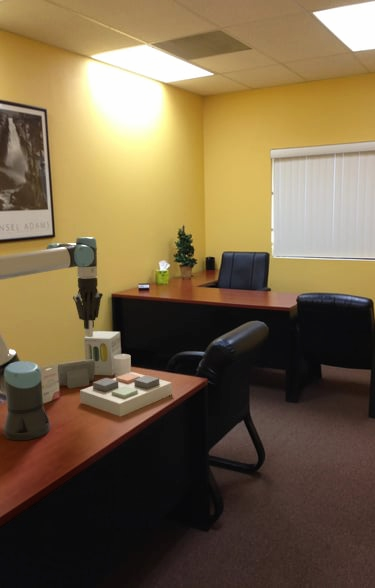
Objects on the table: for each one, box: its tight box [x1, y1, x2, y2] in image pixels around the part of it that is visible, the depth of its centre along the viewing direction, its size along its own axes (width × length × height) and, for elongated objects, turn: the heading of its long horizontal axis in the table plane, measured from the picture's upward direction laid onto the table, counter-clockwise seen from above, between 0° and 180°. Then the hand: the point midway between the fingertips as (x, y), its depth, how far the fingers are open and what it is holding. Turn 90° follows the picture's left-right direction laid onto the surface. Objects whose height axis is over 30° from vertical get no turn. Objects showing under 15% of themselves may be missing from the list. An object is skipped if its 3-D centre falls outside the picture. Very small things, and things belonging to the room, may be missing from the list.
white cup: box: [113, 353, 132, 378], centre depth 230 cm, size 8×8×10 cm
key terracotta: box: [116, 372, 140, 384], centre depth 214 cm, size 7×7×5 cm
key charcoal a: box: [92, 377, 118, 392], centre depth 204 cm, size 7×7×5 cm
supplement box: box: [83, 330, 122, 376], centre depth 241 cm, size 13×13×18 cm
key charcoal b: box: [134, 374, 160, 390], centre depth 206 cm, size 7×7×5 cm
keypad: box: [79, 371, 173, 418], centre depth 206 cm, size 28×23×5 cm
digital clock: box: [57, 359, 95, 389], centre depth 223 cm, size 16×9×11 cm, turn 102°
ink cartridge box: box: [39, 362, 61, 405], centre depth 206 cm, size 9×5×15 cm, turn 143°
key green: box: [112, 386, 138, 399], centre depth 198 cm, size 7×7×5 cm
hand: (89, 336), depth 204 cm, fingers closed
